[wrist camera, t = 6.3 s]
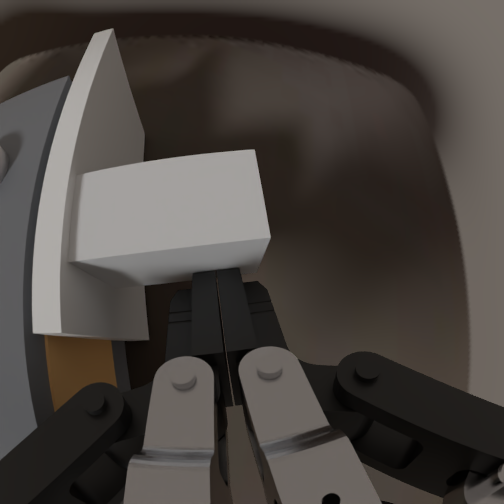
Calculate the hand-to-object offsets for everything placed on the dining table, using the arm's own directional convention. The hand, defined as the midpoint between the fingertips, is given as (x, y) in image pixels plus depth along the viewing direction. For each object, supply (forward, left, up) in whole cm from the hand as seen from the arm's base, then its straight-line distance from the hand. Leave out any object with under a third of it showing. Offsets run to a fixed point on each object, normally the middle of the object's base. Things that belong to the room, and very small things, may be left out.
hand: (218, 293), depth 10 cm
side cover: (-2, +5, -4) cm, 7 cm away
